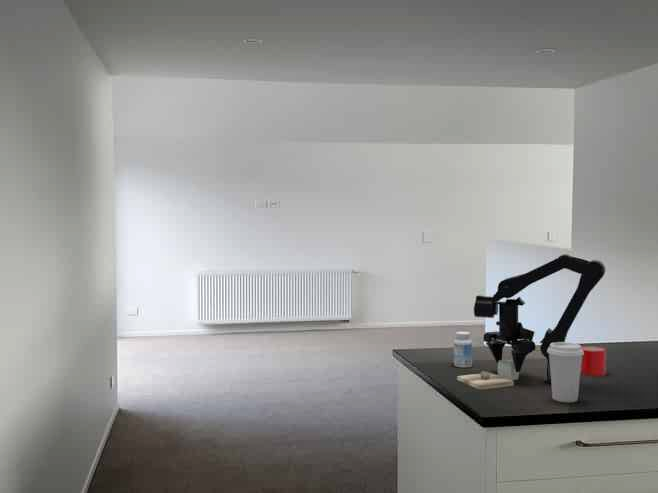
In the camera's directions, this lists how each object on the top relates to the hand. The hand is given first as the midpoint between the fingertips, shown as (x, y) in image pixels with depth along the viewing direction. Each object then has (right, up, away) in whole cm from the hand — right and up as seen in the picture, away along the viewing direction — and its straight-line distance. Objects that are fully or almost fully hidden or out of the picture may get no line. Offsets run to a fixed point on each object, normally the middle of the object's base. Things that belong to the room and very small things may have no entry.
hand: (508, 368), depth 201 cm
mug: (+26, -2, +6) cm, 27 cm away
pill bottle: (-11, -2, +16) cm, 20 cm away
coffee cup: (+9, -4, -23) cm, 25 cm away
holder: (-9, -3, -5) cm, 11 cm away
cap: (0, -3, 0) cm, 3 cm away
